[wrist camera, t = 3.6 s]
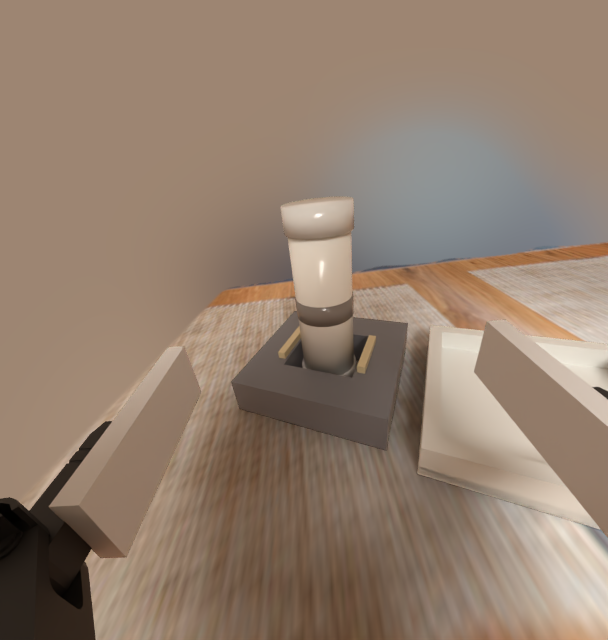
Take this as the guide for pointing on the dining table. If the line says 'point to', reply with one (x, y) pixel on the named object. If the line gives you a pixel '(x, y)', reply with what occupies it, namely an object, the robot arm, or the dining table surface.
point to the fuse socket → (328, 383)
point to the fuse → (323, 280)
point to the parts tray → (493, 425)
